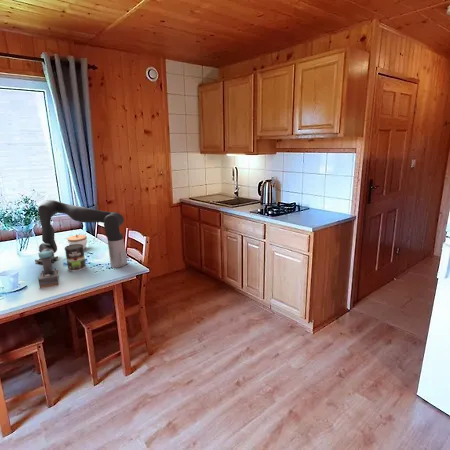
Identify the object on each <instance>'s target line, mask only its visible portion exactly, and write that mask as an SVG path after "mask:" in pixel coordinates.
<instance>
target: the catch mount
mask: <svg viewBox="0 0 450 450" xmlns="http://www.w3.org/2000/svg"><path fill="white" fill-rule="evenodd" d="M53 272H54V275H50V274H47V275H45V277H44V269H42V270H41V272H40V276H39V277H38V285H39V289H44V288H49V287H55V285H56V286H59V270H58V269H57V268H54V270H53Z"/></svg>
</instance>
